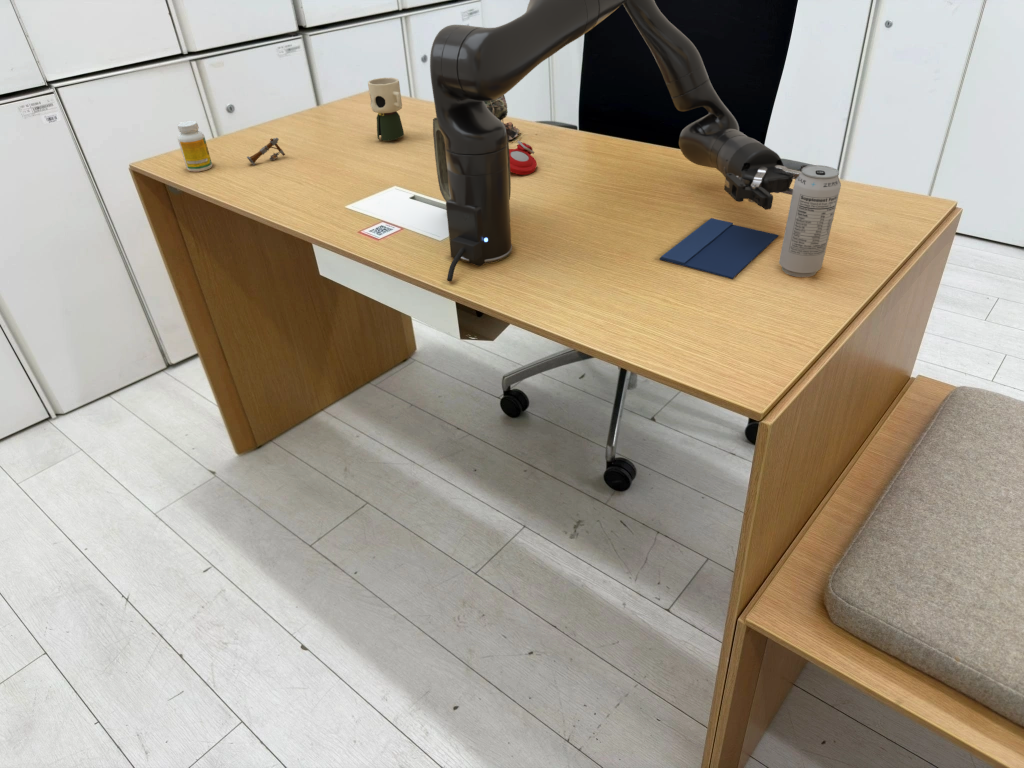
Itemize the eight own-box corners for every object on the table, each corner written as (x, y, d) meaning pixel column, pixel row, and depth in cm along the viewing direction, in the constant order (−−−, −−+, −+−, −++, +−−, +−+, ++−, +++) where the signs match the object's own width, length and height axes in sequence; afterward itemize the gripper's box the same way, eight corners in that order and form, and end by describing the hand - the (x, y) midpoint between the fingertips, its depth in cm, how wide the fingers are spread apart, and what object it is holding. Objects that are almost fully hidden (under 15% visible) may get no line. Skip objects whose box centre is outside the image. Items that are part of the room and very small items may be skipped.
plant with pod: (471, 141, 164) (464, 47, 153) (503, 128, 171) (498, 38, 160) (498, 147, 160) (493, 50, 148) (529, 134, 167) (527, 41, 155)
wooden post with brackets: (289, 152, 159) (277, 135, 156) (261, 174, 158) (248, 158, 155) (286, 151, 161) (274, 134, 157) (258, 172, 159) (245, 156, 156)
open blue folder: (732, 279, 105) (733, 275, 104) (659, 259, 111) (659, 256, 111) (778, 236, 116) (778, 233, 116) (709, 220, 122) (710, 217, 122)
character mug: (365, 138, 169) (355, 80, 162) (388, 131, 173) (380, 74, 166) (393, 147, 163) (385, 87, 155) (417, 139, 167) (410, 80, 159)
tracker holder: (542, 169, 143) (494, 161, 141) (536, 188, 147) (489, 180, 144) (535, 138, 151) (489, 130, 149) (530, 156, 155) (485, 149, 152)
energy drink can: (819, 262, 108) (841, 164, 99) (821, 280, 103) (846, 179, 95) (777, 259, 109) (796, 162, 101) (778, 277, 105) (798, 177, 96)
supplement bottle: (183, 168, 157) (170, 123, 151) (207, 162, 159) (195, 118, 154) (192, 174, 153) (178, 128, 148) (216, 168, 156) (203, 123, 150)
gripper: (710, 146, 114) (755, 180, 101) (793, 137, 116) (848, 170, 103) (704, 191, 118) (747, 229, 105) (784, 182, 120) (836, 219, 107)
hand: (797, 200), depth 104 cm, fingers open, 8 cm apart
